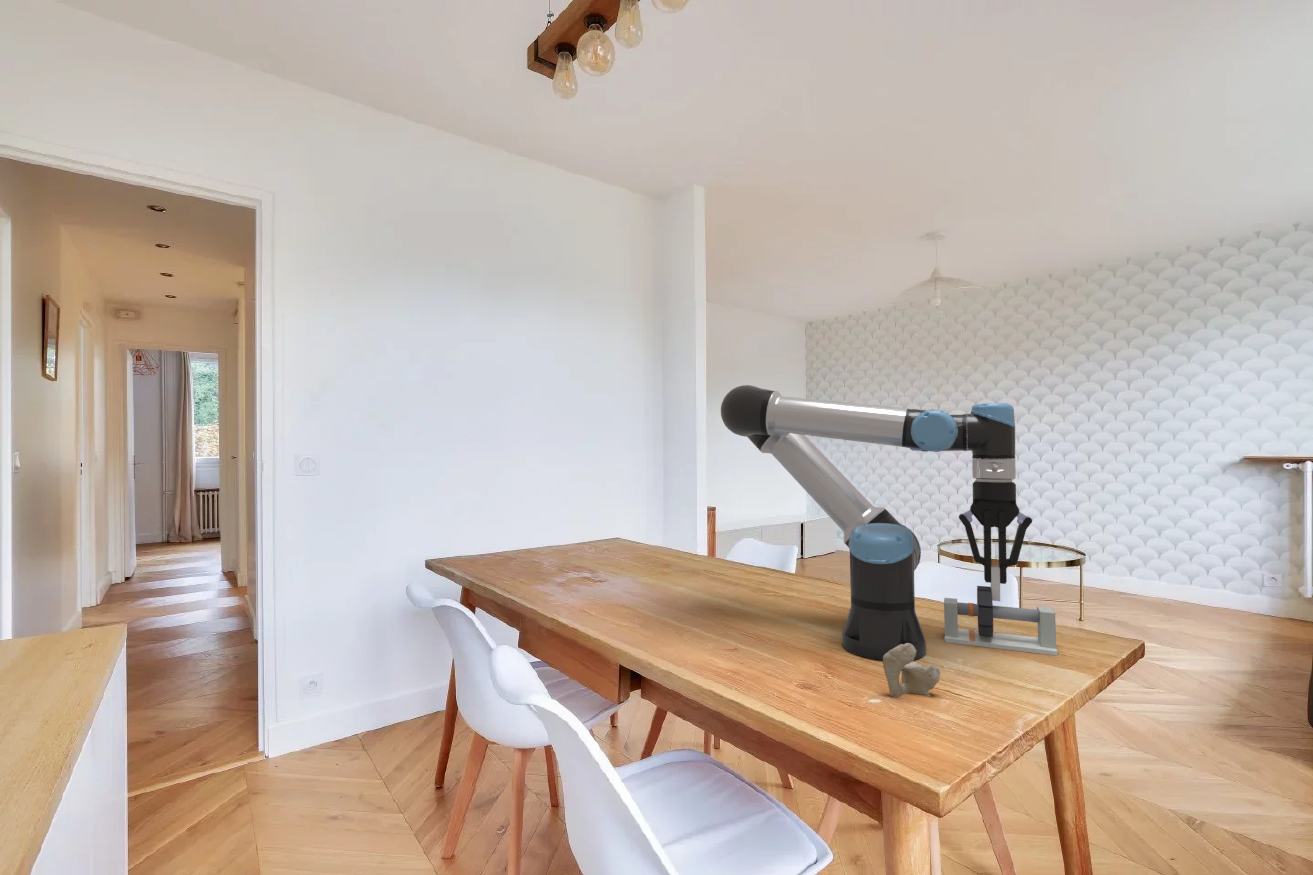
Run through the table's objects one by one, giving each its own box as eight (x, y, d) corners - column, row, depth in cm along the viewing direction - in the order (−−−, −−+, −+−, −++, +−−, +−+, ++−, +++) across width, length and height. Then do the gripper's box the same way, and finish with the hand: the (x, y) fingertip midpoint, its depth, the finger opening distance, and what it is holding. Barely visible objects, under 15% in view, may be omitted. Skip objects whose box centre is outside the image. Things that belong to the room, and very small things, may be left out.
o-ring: (979, 639, 114) (978, 592, 115) (977, 627, 123) (976, 582, 123) (993, 641, 113) (992, 593, 114) (991, 628, 122) (989, 583, 122)
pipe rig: (944, 642, 118) (943, 604, 118) (945, 631, 125) (944, 595, 125) (1057, 655, 109) (1056, 615, 109) (1051, 643, 116) (1050, 605, 116)
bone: (929, 671, 98) (935, 629, 93) (943, 706, 92) (950, 662, 87) (876, 673, 99) (879, 631, 94) (887, 708, 93) (891, 665, 88)
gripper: (957, 480, 117) (958, 599, 117) (1034, 482, 112) (1036, 607, 111) (957, 479, 124) (958, 591, 124) (1030, 480, 118) (1032, 598, 118)
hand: (995, 599), depth 117 cm, fingers closed
